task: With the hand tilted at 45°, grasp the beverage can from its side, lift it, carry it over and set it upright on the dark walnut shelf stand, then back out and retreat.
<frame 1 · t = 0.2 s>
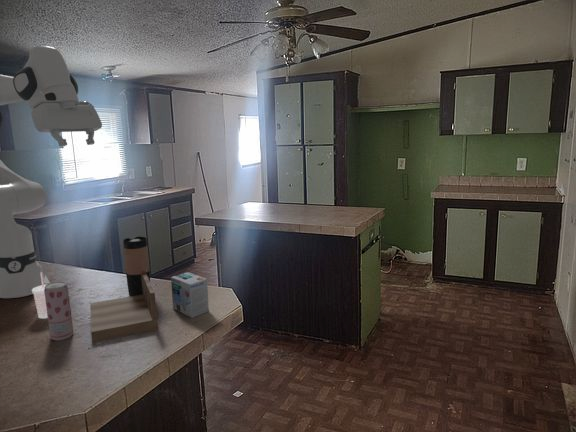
hand: (77, 145, 125), 52 cm above the table, tool tilted 20°, fingers open, 8 cm apart
walnut shelf stand: (122, 320, 126), on the table
beverage can: (62, 336, 116), on the table
travel mug: (140, 295, 146), on the table
light bulb box: (190, 310, 132), on the table
beverage cup: (47, 315, 130), on the table
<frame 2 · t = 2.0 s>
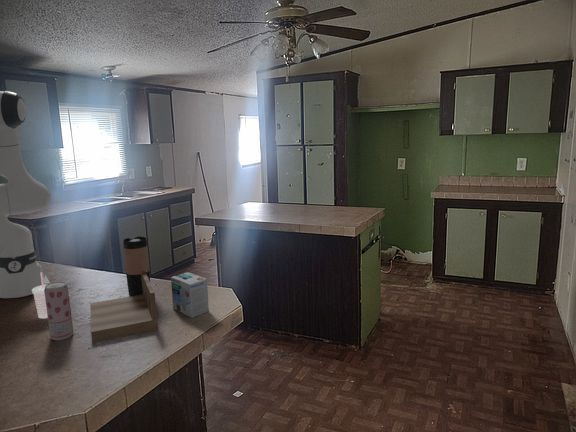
nothing on the table moved.
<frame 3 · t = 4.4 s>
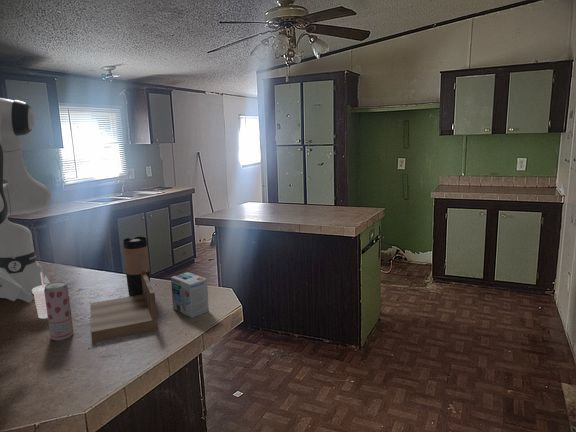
hand: (26, 294, 109), 14 cm above the table, tool tilted 45°, fingers open, 8 cm apart
nothing on the table moved.
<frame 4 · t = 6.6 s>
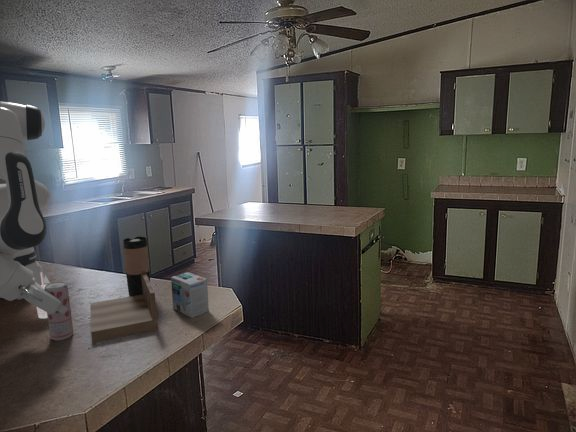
hand: (61, 307, 115), 8 cm above the table, tool tilted 45°, fingers closed on beverage can, 6 cm apart
beverage can: (62, 336, 116), on the table, touching gripper
everything else where it was.
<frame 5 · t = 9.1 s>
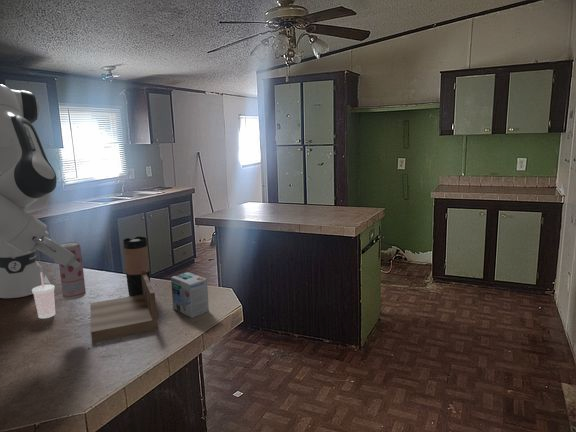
hand: (73, 263, 115), 20 cm above the table, tool tilted 45°, fingers closed on beverage can, 6 cm apart
beverage can: (74, 297, 117), point 10 cm above the table, touching gripper
everything else where it was.
when the fingers open (13 cm above the table, at t = 11.6 s): beverage can stays where it is, resting on walnut shelf stand.
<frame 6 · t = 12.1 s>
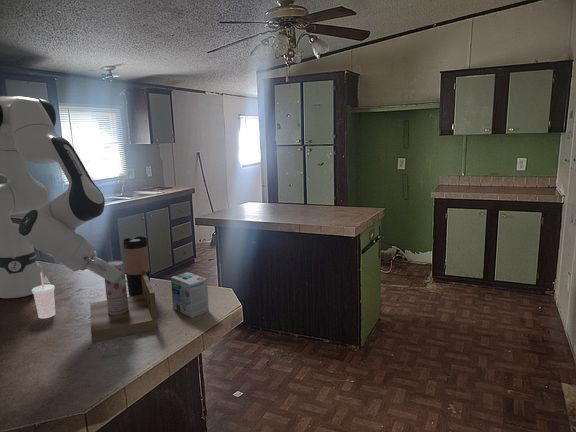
hand: (117, 279, 123), 13 cm above the table, tool tilted 45°, fingers open, 8 cm apart
beverage can: (118, 312, 125), point 3 cm above the table, touching walnut shelf stand
everything else where it was.
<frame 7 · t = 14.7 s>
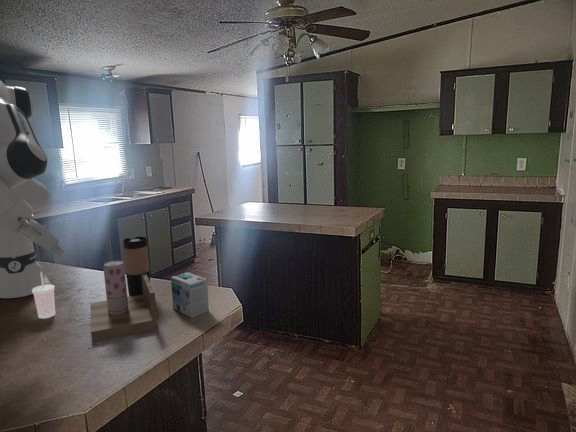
hand: (54, 249, 114), 24 cm above the table, tool tilted 40°, fingers open, 8 cm apart
nothing on the table moved.
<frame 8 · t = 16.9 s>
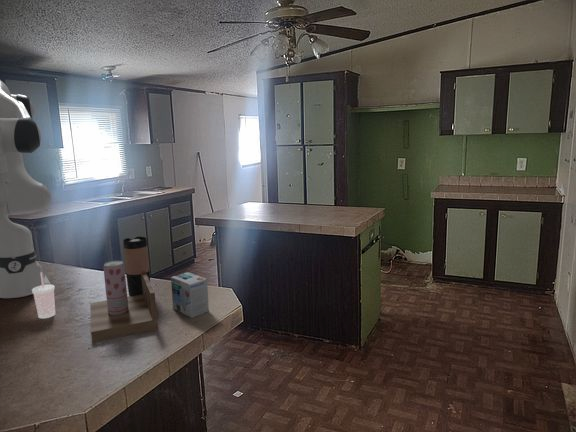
nothing on the table moved.
at the end: beverage can inside the target area (1.0 cm from its centre), point 2.8 cm above the table; beverage can tilted 0°; the gripper is holding nothing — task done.
